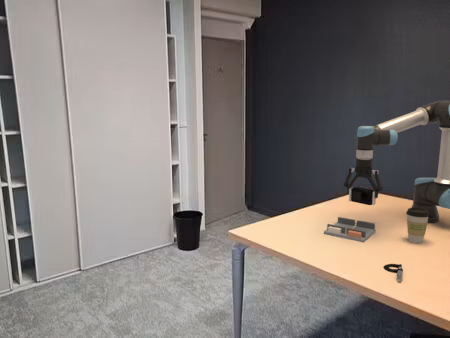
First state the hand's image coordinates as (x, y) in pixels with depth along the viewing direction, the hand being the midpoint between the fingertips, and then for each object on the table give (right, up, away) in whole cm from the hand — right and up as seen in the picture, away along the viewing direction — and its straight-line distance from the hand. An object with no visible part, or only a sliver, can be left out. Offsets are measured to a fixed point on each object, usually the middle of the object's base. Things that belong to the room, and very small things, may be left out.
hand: (361, 202), depth 189 cm
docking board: (-5, -16, +4) cm, 17 cm away
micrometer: (-2, -24, -40) cm, 47 cm away
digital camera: (0, 0, +1) cm, 1 cm away
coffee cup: (+23, -18, -8) cm, 30 cm away
